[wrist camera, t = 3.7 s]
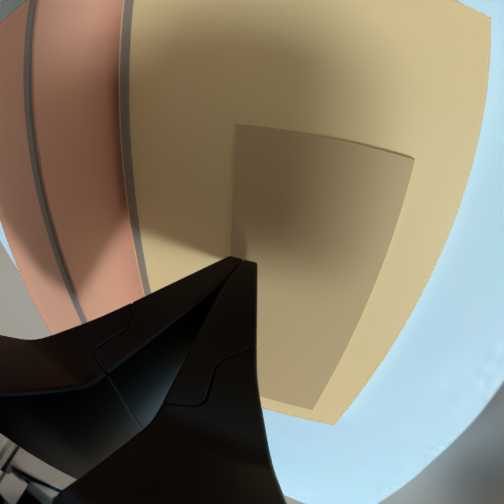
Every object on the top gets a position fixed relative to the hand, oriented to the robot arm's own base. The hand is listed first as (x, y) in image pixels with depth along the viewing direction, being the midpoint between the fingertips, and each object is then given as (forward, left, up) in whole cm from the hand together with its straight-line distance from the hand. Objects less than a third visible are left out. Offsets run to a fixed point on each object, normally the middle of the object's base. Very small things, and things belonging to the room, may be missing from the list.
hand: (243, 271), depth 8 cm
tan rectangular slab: (0, 0, -1) cm, 1 cm away
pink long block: (0, +7, -1) cm, 8 cm away
